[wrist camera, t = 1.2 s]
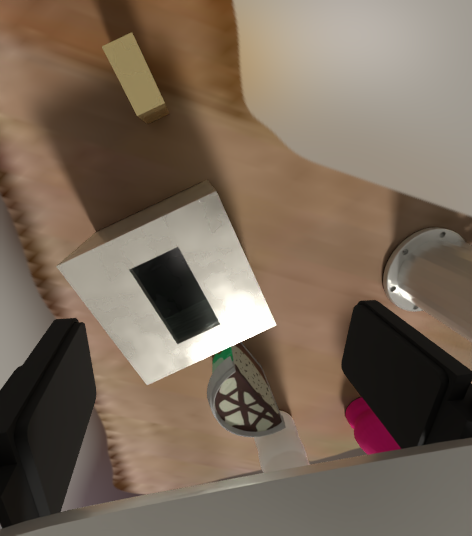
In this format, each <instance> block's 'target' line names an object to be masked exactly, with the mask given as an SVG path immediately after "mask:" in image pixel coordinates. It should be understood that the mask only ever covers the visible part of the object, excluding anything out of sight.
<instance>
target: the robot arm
mask: <svg viewBox="0 0 472 536" xmlns="http://www.w3.org/2000/svg"><path fill="white" fill-rule="evenodd" d="M383 286H384V291H385V293H386V295H387V297H388V298H389V300H390V301H391V302H392V303H394V304H395V305H396V306H398V307H400V308H401V309H404V310H407V311H423V310H424V311H425V312H427V313H428V314H430V315H431V316H433V317H434V318H436V319H437V320H439V321H440V322H442V323H443V324H445V325H446V326H448V327H449V328H451V329H452V330H454V331H455V332H457V333H458V334H460V335H461V336H463V337H464V338H466V339H467V340H469V341H470V342H472V245H470V244H467V243H465V241H464V239H463V238H462V237H461V236H460V235H459V234H458V233H456V232H454V231H452V230H449V229H445V228H439V227H434V228H427V229H423V230H420V231H418V232H416V233H414V234H412V235H411V236H409V237H408V238H406V239H405V240H404V241H403V242H402V243H401V244H400V245H399V246H398V247H397V248H396V249H395V250H394V252H393V253H392V255H391V256H390V258H389V260H388V262H387V265H386V267H385V271H384V275H383ZM341 365H342V370H343V372H344V374H345V375H346V377H347V378H348V379H349V381H350V382H351V383H352V385H353V386H354V387H355V389H356V390H357V391H358V392H359V394H360V395H361V396H362V398H363V399H364V400H365V402H366V403H367V404H368V406H369V407H370V408H371V410H372V411H373V412H374V413H375V415H376V416H377V417H378V419H379V420H380V421H381V423H382V424H383V425H384V427H385V428H386V429H387V431H388V432H389V433H390V435H391V436H392V437H393V438H394V440H395V441H396V442H397V444H398V445H399V446H400V448H401V449H398V450H392V451H387V452H381V453H375V454H369V455H363V456H358V457H352V458H346V459H340V460H335V461H329V462H324V463H318V464H312V465H306V466H301V467H295V468H290V469H284V470H278V471H273V472H267V473H262V474H256V475H250V476H245V477H239V478H234V479H229V480H223V481H218V482H212V483H207V484H201V485H196V486H190V487H185V488H179V489H174V490H168V491H163V492H158V493H152V494H147V495H142V496H137V497H132V498H127V499H123V500H117V501H112V502H107V503H102V504H97V505H92V506H87V507H82V508H77V509H72V510H68V511H64V512H61V508H62V505H63V502H64V499H65V496H66V493H67V489H68V486H69V483H70V480H71V476H72V473H73V470H74V467H75V464H76V461H77V457H78V454H79V451H80V448H81V445H82V441H83V438H84V435H85V432H86V429H87V425H88V423H89V419H90V416H91V413H92V410H93V407H94V403H95V400H96V386H95V380H94V374H93V368H92V363H91V357H90V351H89V345H88V339H87V334H86V328H85V324H84V323H83V322H80V323H79V322H78V320H77V319H76V318H70V319H56V320H54V321H53V323H52V324H51V326H50V327H49V328H48V330H47V331H46V333H45V334H44V335H43V337H42V338H41V340H40V341H39V343H38V344H37V345H36V347H35V348H34V350H33V351H32V353H31V354H30V355H29V357H28V358H27V360H26V361H25V363H24V364H23V365H22V366H20V367H18V368H17V369H16V370H15V371H14V372H13V374H12V375H11V376H10V378H9V379H8V381H7V382H6V383H5V385H4V386H3V387H2V389H1V390H0V536H472V384H471V381H472V371H471V370H470V369H468V368H467V367H466V366H464V365H463V364H462V363H460V362H459V361H458V360H456V359H455V358H454V357H452V356H451V355H449V354H448V353H447V352H445V351H444V350H443V349H441V348H440V347H439V346H437V345H436V344H435V343H433V342H432V341H431V340H429V339H428V338H427V337H425V336H424V335H423V334H421V333H420V332H419V331H417V330H416V329H414V328H413V327H412V326H410V325H409V324H408V323H406V322H405V321H404V320H402V319H401V318H400V317H398V316H397V315H396V314H394V313H393V312H392V311H390V310H389V309H388V308H386V307H385V306H383V305H382V304H381V303H379V302H378V301H376V300H369V301H360V302H359V303H358V304H357V305H356V306H355V307H354V309H353V313H352V317H351V322H350V327H349V331H348V336H347V340H346V345H345V349H344V354H343V358H342V364H341Z"/></svg>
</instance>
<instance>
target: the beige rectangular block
mask: <svg viewBox="0 0 472 536" xmlns="http://www.w3.org/2000/svg"><path fill="white" fill-rule="evenodd" d="M102 48H103V50H104V52H105V54H106V56H107V58H108V60H109V62H110V64H111V66H112V68H113V70H114V72H115V74H116V76H117V78H118V79H119V81H120V83H121V85H122V87H123V89H124V91H125V93H126V95H127V97H128V99H129V101H130V103H131V105H132V107H133V109H134V111H135V113H136V115H137V116H138V117H139V118H140V119H142V120H143V121H144V122H145V123H147V124H149V123H151V122H153V121H155V120H157V119H159V118H161V117H164V116H166V115H168V114H169V112H168V109H167V107H166V105H165V102H164V100H163V98H162V96H161V94H160V91H159V89H158V87H157V85H156V83H155V81H154V78H153V76H152V74H151V72H150V70H149V68H148V66H147V63H146V61H145V59H144V57H143V55H142V53H141V50H140V48H139V46H138V44H137V42H136V40H135V37H134V35H133V33H132V32H131V33H129V34H127V35H125V36H123V37H121V38H119V39H117V40H115V41H113V42H110V43H108V44H106V45H104V46H102Z"/></svg>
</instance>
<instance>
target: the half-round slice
mask: <svg viewBox="0 0 472 536" xmlns="http://www.w3.org/2000/svg"><path fill="white" fill-rule="evenodd" d="M207 398H208V402H209V405H210V408H211V410H212V413H213V415H214V417H215V418H216V420H217V421H218V422H219V423H220V425H221V426H222V427H223V428H225V429H226V430H227V431H229V432H231V433H233V434H236V435H239V436H244V437H261V436H267V435H270V434H274V433H276V432H278V431H281V430H283V429H284V428H286V427H285V422H284V418H283V416H281V414H280V411H279V409H278V406H277V404H276V401H275V398H274V396H273V393H272V391H271V388H270V386H269V383H268V381H267V378H266V376H265V373H264V371H263V368H262V366H261V365H260V364H259V363H258V362H257V360H256V359H255V358H254V357H253V356H252V354H251V353H250V352H249V351H248V350H247V348H246V347H245V346H244V345H243V343H242V342H239V343H237V344H235V345H233V346H231V347H228V348H226V349H224V350H222V351H220V352H218V353H215V354H213V374H212V376H211V378H210V380H209V383H208V388H207Z"/></svg>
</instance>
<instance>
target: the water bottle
mask: <svg viewBox="0 0 472 536" xmlns="http://www.w3.org/2000/svg"><path fill="white" fill-rule="evenodd" d="M279 411H280V410H279ZM280 414H281V416H283V418H284V422H285V427H286V428H284V429H283V430H281V431H278V432H276V433H274V434H270V435H267V436H261V437H254V440H255V443H256V446H257V449H258V454H259V460H260V465H261V468H262V470H263V473H267V472H273V471H278V470H284V469H290V468H295V467H301V466H306V465H310V463H309V461H308V460H307V455H306V451H305V448H304V446H303V443H302V441H301V440H300V438H299V436H298V431H297V428H296V425H295V423H294V420H293V418H292V417H291V416H290V415H289V414H288V413H286V412H284V411H280Z"/></svg>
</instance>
